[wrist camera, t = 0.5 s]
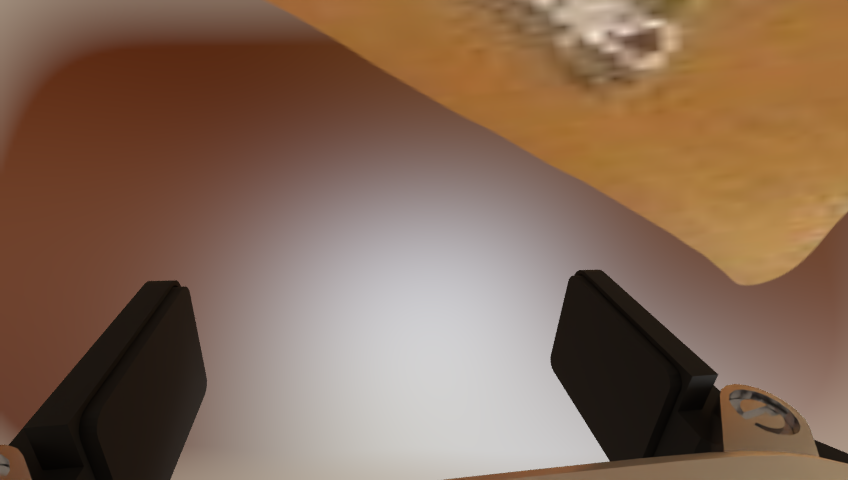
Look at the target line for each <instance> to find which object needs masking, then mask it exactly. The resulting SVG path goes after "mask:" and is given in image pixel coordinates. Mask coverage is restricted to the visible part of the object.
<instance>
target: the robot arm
mask: <svg viewBox="0 0 848 480" xmlns="http://www.w3.org/2000/svg"><path fill="white" fill-rule="evenodd" d="M551 366H552V369H553V371H554V373H555V374H556V376H557V377H558V379H559V380H560V382H561V384H562V385H563V387H564V389H565V390H566V392H567V393H568V395H569V396H570V398H571V399H572V401H573V403H574V404H575V406H576V408H577V409H578V411H579V412H580V414H581V415H582V417H583V419H584V420H585V422H586V424H587V425H588V427H589V428H590V430H591V432H592V433H593V435H594V436H595V438H596V440H597V441H598V443H599V444H600V446H601V448H602V449H603V451H604V452H605V454H606V456H607V457H608V459H609V460H610V462H602V463H592V464H583V465H574V466H564V467H554V468H545V469H536V470H527V471H517V472H508V473H499V474H490V475H482V476H472V477H463V478H454V479H446V480H848V454H847V453H845V452H842V451H840V450H838V449H835V448H833V447H830V446H828V445H826V444H823V443H821V442H818V441H816V440H814V438H813V435H812V432H811V429H810V427H809V425H808V423H807V421H806V420H805V418H804V417H803V416H802V415H800V413H799V412H798V411H797V410H796V409H794V408H793V407H792V406H791V405H789V404H788V403H787V402H785V401H783V400H782V399H780V398H778V397H776V396H774V395H773V394H771V393H768V392H766V391H764V390H761V389H759V388H755V387H751V386H747V385H740V384H732V385H727V386H725V387H724V388H722V389H721V391H719V390H718V389H717V388H716V387H715V386H714V385H713V384H714V382H715V380H716V378H717V376H718V374H717V373H716V372H715V371H713V369H711V368H710V367H709V366H708V365H707V364H706V363H705V362H704V361H702V360H701V359H700V358H699V357H698V356H697V355H696V354H695V353H693V352H692V351H691V350H690V349H689V348H688V347H687V346H686V345H685V344H683V343H682V342H681V341H680V340H679V339H678V338H677V337H675V336H674V335H673V334H672V333H671V332H670V331H669V330H668V329H667V328H666V327H665V326H663V325H662V324H661V323H660V322H659V321H658V320H657V319H656V318H654V317H653V316H652V315H651V314H650V313H649V312H648V311H647V310H645V309H644V308H643V307H642V306H641V305H640V304H639V303H638V302H637V301H636V300H634V299H633V298H632V297H631V296H630V295H629V294H628V293H627V292H625V291H624V290H623V289H622V288H621V287H620V286H619V285H617V283H615V282H614V281H613V280H612V279H611V278H610V277H609V276H607V274H605V273H604V272H603V271H601V270H579V271H577V272H576V274H575V275H574V276H571V277H570V279H569V281H568V286H567V290H566V294H565V298H564V302H563V307H562V311H561V315H560V320H559V324H558V328H557V332H556V337H555V341H554V345H553V349H552V353H551ZM206 386H207V378H206V372H205V367H204V362H203V358H202V352H201V347H200V342H199V337H198V332H197V327H196V322H195V317H194V312H193V307H192V302H191V296H190V292H189V289H188V288H187V287H181V286H180V284H179V282H178V281H148V282H146V283H145V284H144V285H143V287H142V288H141V289H140V290H139V291H138V292H137V294H136V295H135V296H134V297H133V298H132V300H131V301H130V302H129V303H128V304H127V306H126V307H125V308H124V309H123V310H122V311H121V313H120V314H119V315H118V316H117V317H116V319H115V320H114V321H113V322H112V323H111V324H110V326H109V327H108V328H107V329H106V330H105V332H104V333H103V334H102V335H101V336H100V337H99V339H98V340H97V341H96V342H95V343H94V345H93V346H92V347H91V348H90V349H89V350H88V352H87V353H86V354H85V355H84V357H83V358H82V359H81V360H80V361H79V362H78V364H77V365H76V366H75V367H74V368H73V369H72V371H71V372H70V373H69V374H68V375H67V376H66V378H65V379H64V380H63V381H62V383H61V384H60V385H59V386H58V387H57V389H56V390H55V391H54V392H53V393H52V394H51V395H50V397H49V398H48V399H47V400H46V401H45V402H44V404H43V405H42V406H41V407H40V408H39V410H38V411H37V412H36V413H35V414H34V416H33V417H32V418H31V419H30V420H29V421H28V423H27V424H26V425H25V426H24V427H23V429H22V430H21V431H20V432H19V434H18V435H17V436H16V437H15V438H14V439H13V441H12V442H11V443H10V444H9V445H0V480H170V479H171V476H172V474H173V471H174V469H175V466H176V464H177V461H178V459H179V457H180V454H181V452H182V449H183V447H184V444H185V442H186V439H187V437H188V435H189V432H190V430H191V427H192V424H193V422H194V420H195V417H196V415H197V413H198V410H199V408H200V405H201V402H202V400H203V398H204V395H205V392H206Z"/></svg>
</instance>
